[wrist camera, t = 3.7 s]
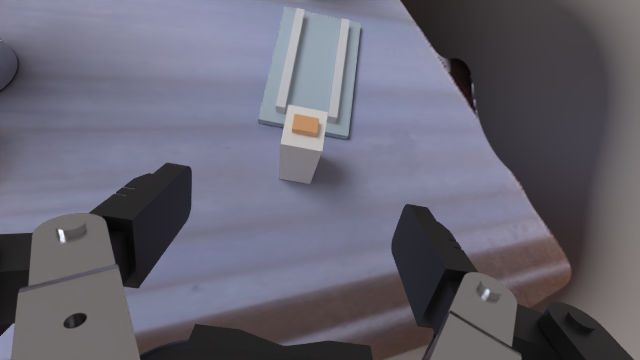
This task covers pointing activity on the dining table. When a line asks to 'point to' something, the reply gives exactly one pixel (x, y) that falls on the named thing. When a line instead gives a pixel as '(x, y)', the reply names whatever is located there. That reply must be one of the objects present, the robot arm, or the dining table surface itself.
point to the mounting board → (312, 69)
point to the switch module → (301, 143)
